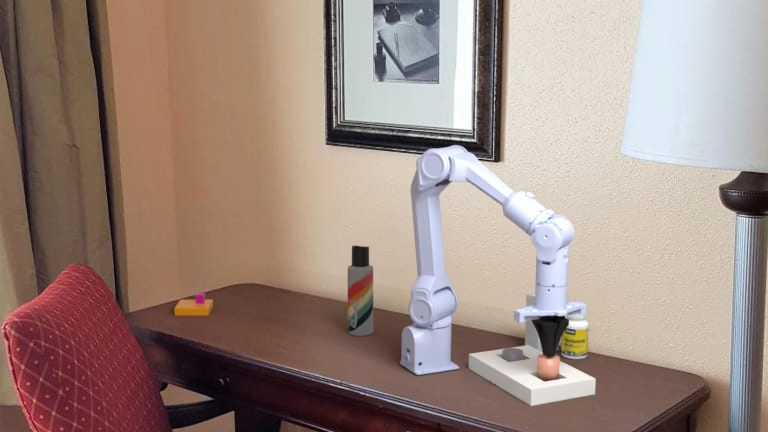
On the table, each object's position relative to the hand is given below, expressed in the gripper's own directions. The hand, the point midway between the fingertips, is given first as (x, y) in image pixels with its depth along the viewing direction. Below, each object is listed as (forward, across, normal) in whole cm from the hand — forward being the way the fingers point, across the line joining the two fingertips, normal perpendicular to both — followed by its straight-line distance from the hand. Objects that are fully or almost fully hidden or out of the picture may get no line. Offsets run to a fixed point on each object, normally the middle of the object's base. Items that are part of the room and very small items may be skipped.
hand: (548, 355), depth 171 cm
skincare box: (+7, +13, +21) cm, 26 cm away
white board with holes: (+7, 0, +6) cm, 9 cm away
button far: (+7, 0, +12) cm, 14 cm away
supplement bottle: (+7, +17, +15) cm, 24 cm away
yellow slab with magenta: (+8, -47, +81) cm, 94 cm away
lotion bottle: (+7, -17, +48) cm, 51 cm away
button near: (+4, 0, 0) cm, 4 cm away
